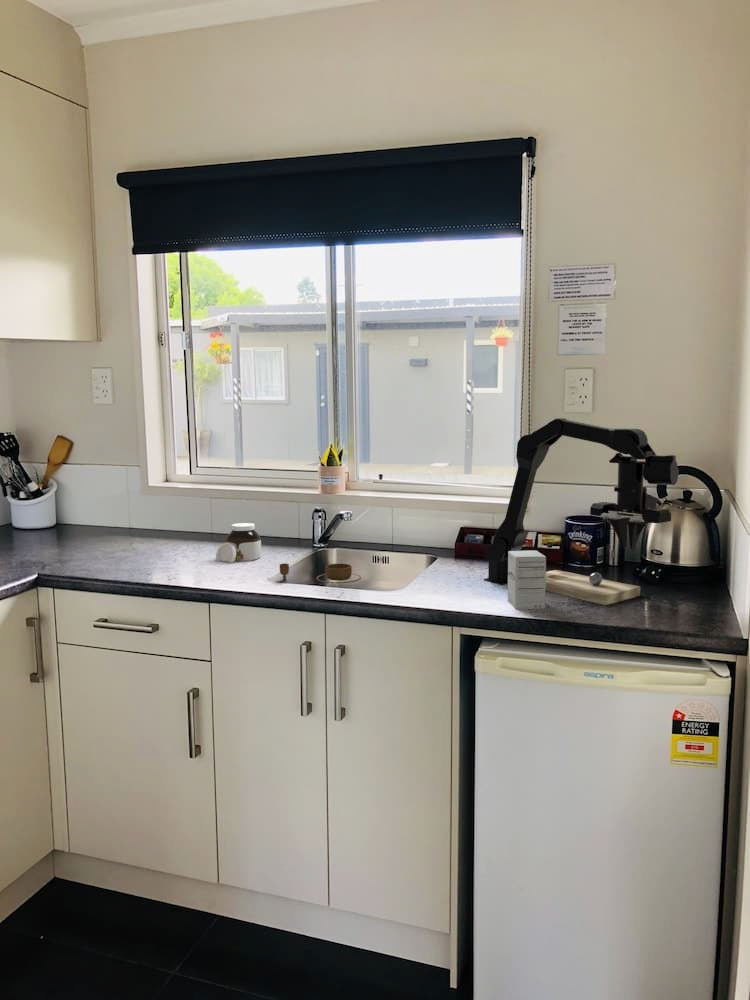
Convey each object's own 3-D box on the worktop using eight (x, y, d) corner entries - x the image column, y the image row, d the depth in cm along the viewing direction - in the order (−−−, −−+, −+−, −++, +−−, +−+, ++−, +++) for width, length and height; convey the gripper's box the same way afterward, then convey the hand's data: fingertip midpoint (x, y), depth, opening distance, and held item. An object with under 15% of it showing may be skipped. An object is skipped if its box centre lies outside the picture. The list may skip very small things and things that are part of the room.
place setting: (347, 592, 211) (347, 570, 211) (276, 587, 218) (276, 565, 217) (370, 578, 228) (370, 557, 227) (303, 574, 234) (303, 553, 234)
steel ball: (596, 587, 202) (597, 574, 202) (586, 585, 204) (586, 572, 204) (604, 585, 204) (605, 572, 204) (594, 583, 206) (594, 570, 206)
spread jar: (264, 561, 250) (263, 523, 248) (252, 568, 239) (251, 529, 237) (226, 560, 252) (225, 522, 250) (212, 567, 241) (211, 528, 239)
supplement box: (506, 602, 198) (507, 550, 196) (537, 601, 199) (538, 549, 197) (514, 610, 191) (515, 556, 189) (545, 609, 191) (547, 555, 190)
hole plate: (605, 606, 194) (605, 595, 194) (520, 586, 214) (520, 577, 214) (639, 596, 203) (640, 586, 202) (555, 578, 223) (555, 569, 222)
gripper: (685, 483, 192) (683, 549, 194) (617, 477, 206) (615, 539, 208) (658, 486, 185) (655, 555, 187) (589, 480, 199) (587, 544, 201)
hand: (628, 548), depth 196 cm, fingers closed
